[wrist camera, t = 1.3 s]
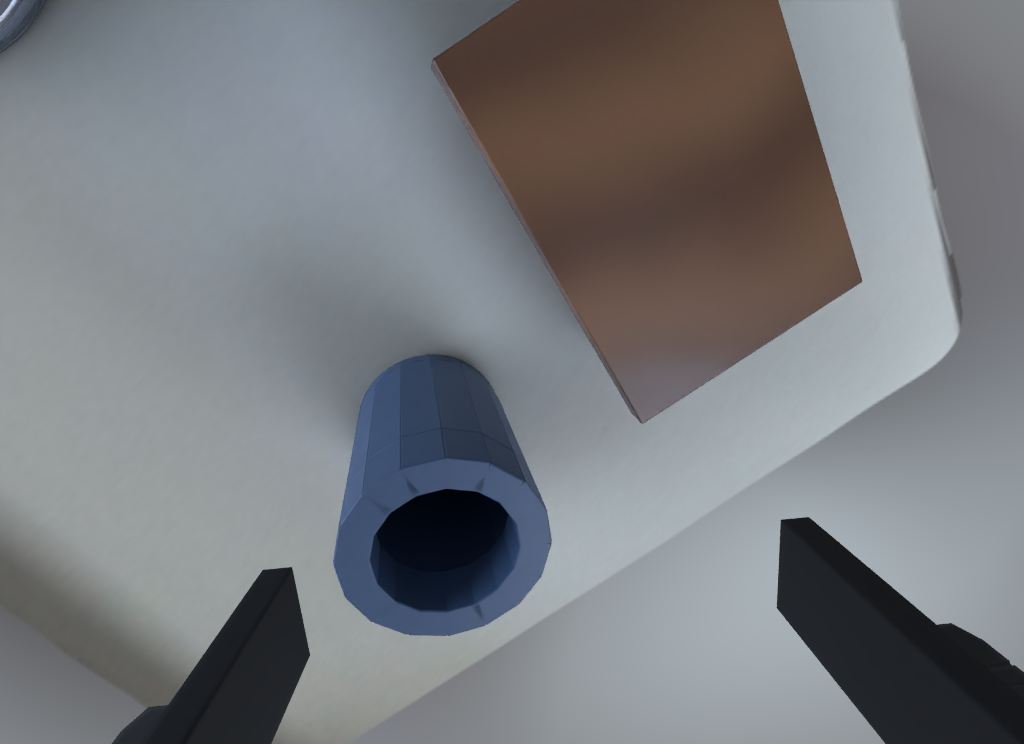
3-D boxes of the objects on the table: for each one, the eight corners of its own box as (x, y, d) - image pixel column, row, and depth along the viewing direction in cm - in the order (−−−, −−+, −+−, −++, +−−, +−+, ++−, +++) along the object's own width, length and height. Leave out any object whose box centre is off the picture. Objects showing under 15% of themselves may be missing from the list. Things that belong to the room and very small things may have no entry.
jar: (328, 407, 27) (285, 543, 17) (450, 327, 27) (478, 417, 17) (414, 503, 30) (420, 668, 20) (524, 432, 30) (585, 562, 20)
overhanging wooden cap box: (424, 87, 23) (431, 59, 18) (653, -69, 23) (734, -148, 17) (597, 378, 30) (642, 424, 24) (776, 261, 29) (863, 281, 24)
